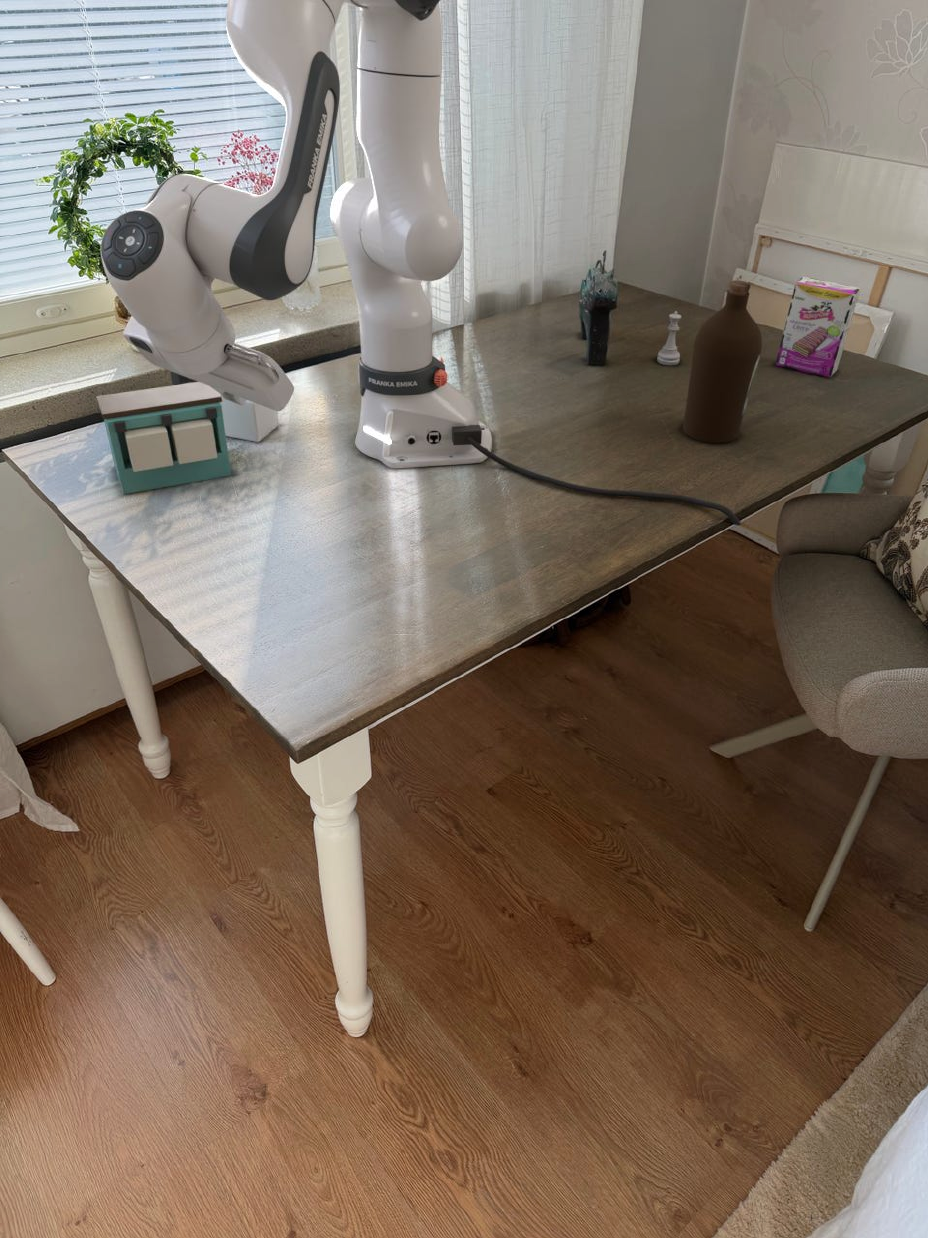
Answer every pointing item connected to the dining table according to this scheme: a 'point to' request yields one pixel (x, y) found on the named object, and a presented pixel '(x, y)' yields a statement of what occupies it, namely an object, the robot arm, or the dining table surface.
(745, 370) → the olive oil
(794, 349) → the candy bar box
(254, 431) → the medicine bottle
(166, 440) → the piano key left
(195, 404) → the toy piano
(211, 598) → the dining table surface
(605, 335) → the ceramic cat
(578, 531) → the dining table surface
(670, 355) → the chess piece
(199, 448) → the piano key right
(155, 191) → the robot arm
